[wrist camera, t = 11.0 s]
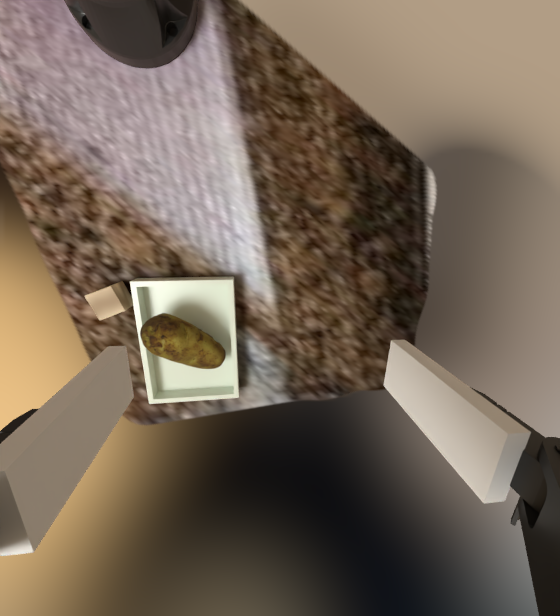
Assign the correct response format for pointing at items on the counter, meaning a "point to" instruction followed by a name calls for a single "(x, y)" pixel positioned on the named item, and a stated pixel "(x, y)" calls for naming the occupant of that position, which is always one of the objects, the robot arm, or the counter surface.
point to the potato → (181, 342)
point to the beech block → (110, 300)
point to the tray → (201, 313)
